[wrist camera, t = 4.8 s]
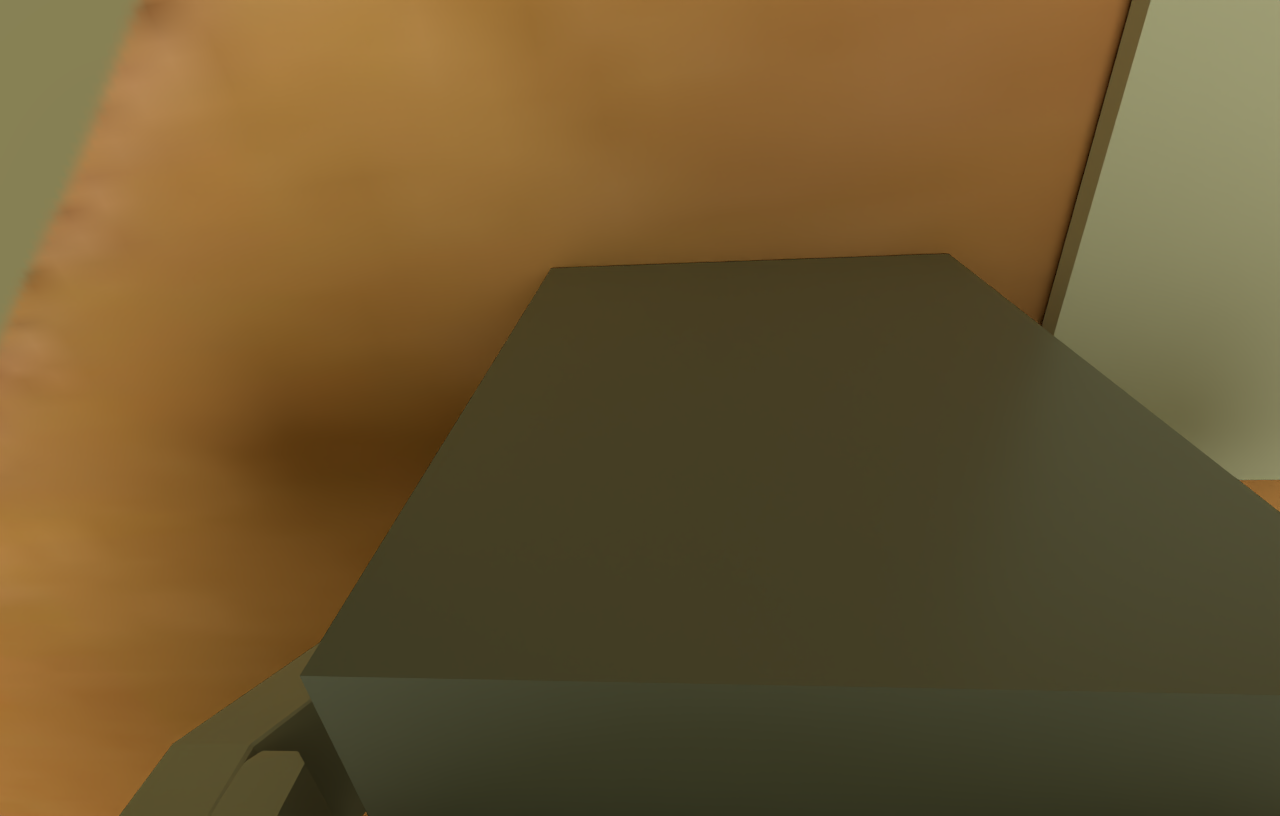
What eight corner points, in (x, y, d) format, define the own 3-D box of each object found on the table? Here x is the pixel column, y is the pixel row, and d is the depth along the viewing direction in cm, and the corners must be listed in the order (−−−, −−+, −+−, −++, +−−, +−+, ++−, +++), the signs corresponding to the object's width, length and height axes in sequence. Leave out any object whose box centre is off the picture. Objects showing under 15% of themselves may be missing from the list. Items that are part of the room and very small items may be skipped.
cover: (891, 556, 13) (1114, 1108, 6) (588, 556, 14) (490, 1063, 7) (948, 253, 10) (1520, 700, 3) (551, 267, 11) (299, 676, 4)
